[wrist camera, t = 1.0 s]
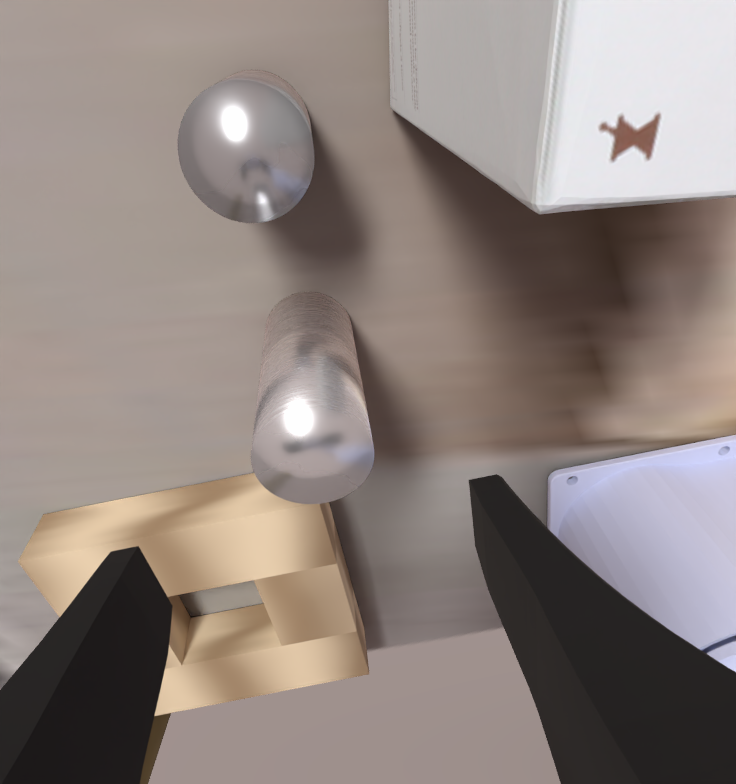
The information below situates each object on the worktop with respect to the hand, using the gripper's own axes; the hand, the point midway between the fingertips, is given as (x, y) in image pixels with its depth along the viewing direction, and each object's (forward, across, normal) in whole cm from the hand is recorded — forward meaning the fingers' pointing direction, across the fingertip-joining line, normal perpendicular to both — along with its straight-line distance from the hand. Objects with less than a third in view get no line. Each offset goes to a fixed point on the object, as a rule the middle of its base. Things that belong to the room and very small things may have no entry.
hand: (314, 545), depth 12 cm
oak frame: (+10, +7, +12) cm, 17 cm away
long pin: (+10, 0, 0) cm, 10 cm away
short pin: (+10, 0, -7) cm, 13 cm away
